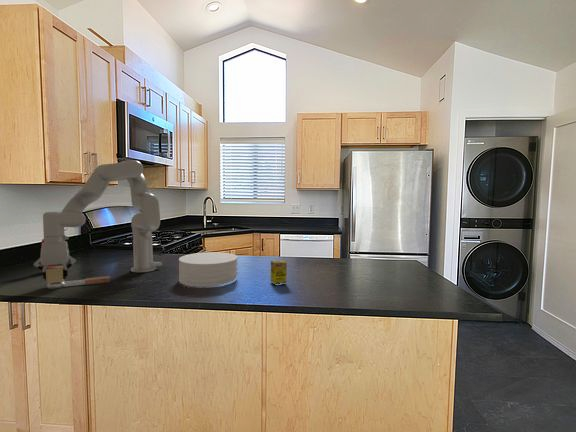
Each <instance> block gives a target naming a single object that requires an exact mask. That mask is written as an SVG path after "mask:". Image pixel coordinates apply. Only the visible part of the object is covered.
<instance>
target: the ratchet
mask: <svg viewBox="0 0 576 432" xmlns="http://www.w3.org/2000/svg"><path fill="white" fill-rule="evenodd" d="M105 283H111V276H110V275H106V276H95V277H86V278H84V279H77V280H67V281H66V280H64V281H63V282H54V283H46V284H47V286H46V287H47V289H50V290H55V289H61V288H68V287H75V286H84V285H85V286H86V285H95V284H105Z"/></svg>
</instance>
